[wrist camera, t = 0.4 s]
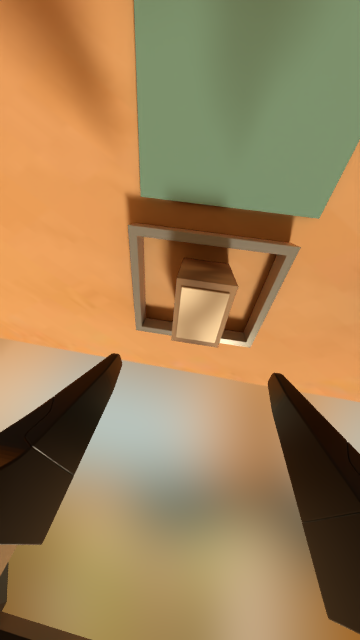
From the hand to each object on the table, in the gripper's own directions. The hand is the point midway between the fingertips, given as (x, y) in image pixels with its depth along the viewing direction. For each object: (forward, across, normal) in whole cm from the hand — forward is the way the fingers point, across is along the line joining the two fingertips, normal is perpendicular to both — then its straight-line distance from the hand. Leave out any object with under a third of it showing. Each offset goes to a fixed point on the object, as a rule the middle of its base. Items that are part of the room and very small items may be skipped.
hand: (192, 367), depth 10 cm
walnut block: (+12, 0, +1) cm, 12 cm away
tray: (+12, 0, +1) cm, 12 cm away
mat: (+12, -2, -13) cm, 18 cm away
